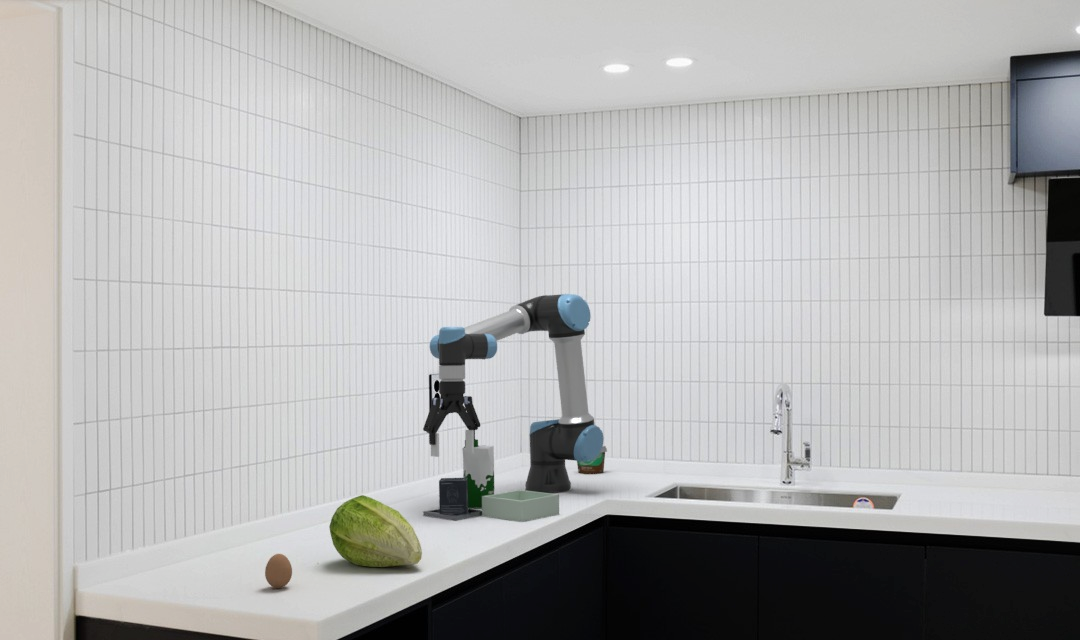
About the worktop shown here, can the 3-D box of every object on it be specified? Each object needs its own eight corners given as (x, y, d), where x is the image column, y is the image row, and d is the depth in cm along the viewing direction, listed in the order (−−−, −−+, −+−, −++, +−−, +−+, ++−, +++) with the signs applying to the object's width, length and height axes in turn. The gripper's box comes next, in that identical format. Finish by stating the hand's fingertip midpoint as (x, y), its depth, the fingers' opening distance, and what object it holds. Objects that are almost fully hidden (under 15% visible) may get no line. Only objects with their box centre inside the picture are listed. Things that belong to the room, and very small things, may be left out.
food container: (572, 474, 389) (571, 447, 389) (574, 472, 395) (574, 445, 395) (605, 474, 387) (605, 447, 387) (607, 472, 393) (606, 445, 393)
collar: (452, 510, 312) (452, 506, 312) (484, 515, 303) (484, 510, 303) (423, 515, 303) (423, 511, 303) (455, 520, 294) (455, 516, 294)
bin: (519, 508, 313) (519, 489, 313) (559, 514, 302) (558, 494, 302) (482, 515, 301) (481, 496, 301) (521, 521, 291) (521, 501, 291)
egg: (259, 590, 216) (259, 555, 216) (275, 584, 221) (275, 550, 221) (282, 592, 214) (281, 557, 214) (297, 586, 219) (297, 552, 219)
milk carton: (468, 503, 324) (467, 438, 324) (497, 504, 322) (496, 438, 323) (460, 508, 315) (459, 441, 316) (490, 508, 314) (489, 441, 314)
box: (468, 513, 306) (467, 477, 306) (466, 517, 300) (466, 479, 300) (441, 514, 306) (440, 477, 306) (439, 517, 300) (438, 480, 300)
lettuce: (437, 580, 238) (385, 600, 226) (364, 536, 253) (311, 552, 241) (446, 520, 235) (394, 537, 223) (372, 478, 249) (319, 493, 237)
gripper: (474, 378, 315) (474, 450, 315) (410, 381, 297) (410, 457, 296) (492, 379, 310) (492, 451, 310) (428, 382, 292) (428, 459, 291)
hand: (452, 454), depth 303 cm, fingers open, 13 cm apart
